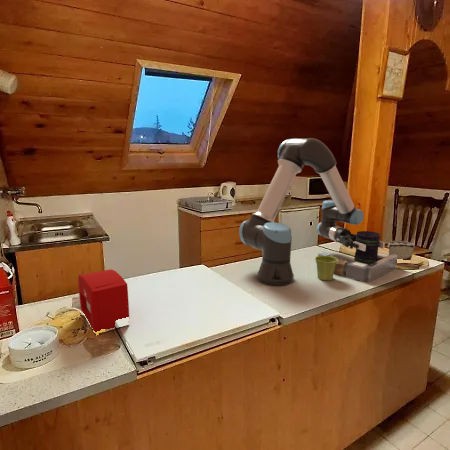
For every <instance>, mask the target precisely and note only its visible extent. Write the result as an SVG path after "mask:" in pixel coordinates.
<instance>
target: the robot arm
mask: <svg viewBox="0 0 450 450" xmlns="http://www.w3.org/2000/svg"><path fill="white" fill-rule="evenodd" d="M277 159H278V160H277V164H278V167H277V169H276V171H275V173H274V176H273V177H272V180H271V181H270V183H269V186H268V188H267V190H266V191H265V194H264V196H263V198H262V200H261V202H260V204H259V207H258V209H257V211H256V212H253V213H252V214H251V215H250V217H249V219H246V220H244V221H243V222H242V223H241V224H240V225H239V230H238V235H239V239H240V242H242V243H243V244H244V245H245V246H247V247H250V248H253V249H255V250H259V251H260V252H262V257H261V258H262V259H261V262H260V263H261V264H260V266H259V269H258V272H257V280H258V281H259V282H260V283H262V284H264V285H267V286H268V285H269V286H274V287H276V286H277V287H282V286H283V287H284V286H288V285H291V284H292V283H294V277H295V275H294V272H293V267H292V265H291V257H292V256H291V254H292V253H291V252H292V241H293V240H292V239H293V236H292V228H290V227H289V226H288V225H287V224H284V223H282V222H281V223H280V222H276V221H275V218H276V216H277V215H278V213H279V210H280V209H281V206H282V204H283V203H284V200H285V198H286V197H287V194H288V192H289V190H290V187H291V185H292V184H293V181H294V179H295V177H296V175H297V174H299V173H302V171H303V168H304V166H310V167H311V168H313V170H314V172H315V173H317V174H319V176H320V178H321V180H322V181H323V184H324V186H325V188H326V190H327V192H328V193H329V195H330V198H331V199H330V200H329V199H328V200H323V202H322V207H321V219H320V222H319V223H318V224H317V226H316V233H317V234H318V235H319V236H322V238H324V239H325V238H326V239H329V240H331V241H334V242H335V243H339V244H341V245H343V246H344V247H345V248H349V249H353V248H355V249H356V248H357V249H359V250H362V251H365V250H366V245H364V244H361V243H359V242H356V236H357V234H355V233H352V232H351V231H350V229H348V228H345V227H341V226H339V225H337V222H340V223H345V224H349V225H353V226H354V225H356V226H359V225H360V224H361V223H362V222H363V221H364V217H365V216H364V215H365V214H364V211H363V210H361V209H359V208H356V207H355V205H354V204H355V203H354V202H353V200H352V198H351V195H350V193H349V191H348V189H347V187H346V185H345V183H344V181H343V179H342V176H341V175H340V172H339V171H338V168H337V166H336V165H337V159H336V158H335V156H334V154H333V152H332V151H331V150H330V149H329V147H328V146H327V145H326V144H325V143H324V142H322V140H319V139H318V138H314V137H309V138H293V137H292V138H288V139H285V140H284V141H282V143H280V144H279V147H278V149H277ZM385 244H386V242H384V241H381V240H380V243H379V247H378V249H382V250H383V249H385Z"/></svg>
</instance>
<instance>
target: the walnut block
mask: <svg viewBox="0 0 450 450" xmlns="http://www.w3.org/2000/svg"><path fill="white" fill-rule="evenodd" d="M347 264H348V261H347V260H342V259H338V261H337V263H336V265H335V269H334V274H333V275H340V276H343V275H344V274H346V266H347Z"/></svg>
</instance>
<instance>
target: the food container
mask: <svg viewBox="0 0 450 450" xmlns="http://www.w3.org/2000/svg"><path fill="white" fill-rule="evenodd" d="M387 248H388V254H389V255H392V254H395V255H398V257H397V259H403V260H411V261H412V258H413V253H414V249H416V244H415V243H413V242H409V241H405V240H391V241H389V242H388V243H387Z"/></svg>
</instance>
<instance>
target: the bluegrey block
mask: <svg viewBox="0 0 450 450" xmlns="http://www.w3.org/2000/svg"><path fill="white" fill-rule="evenodd" d="M317 254H318V255H317V256H331V257H332V254H331V253H327V252H324V251H323V252H320V253H317Z"/></svg>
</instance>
